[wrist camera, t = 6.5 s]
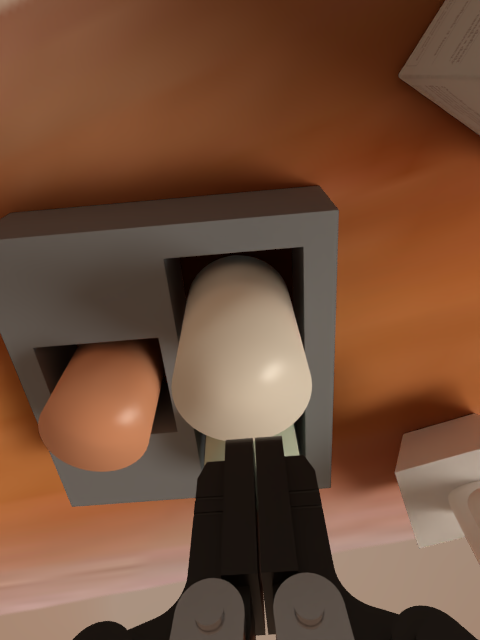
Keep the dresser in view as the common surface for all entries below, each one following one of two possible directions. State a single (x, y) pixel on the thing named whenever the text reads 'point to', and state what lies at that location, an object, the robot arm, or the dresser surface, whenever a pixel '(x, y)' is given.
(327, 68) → the dresser surface
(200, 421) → the white egg
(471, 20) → the supplement box
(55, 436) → the brown egg
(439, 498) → the figurine
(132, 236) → the grey square tray
